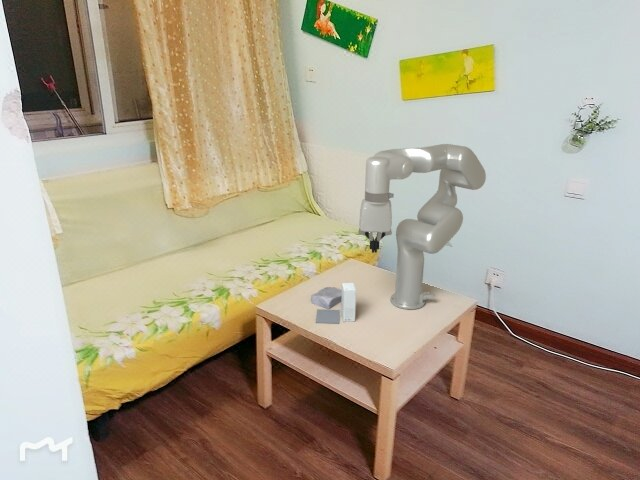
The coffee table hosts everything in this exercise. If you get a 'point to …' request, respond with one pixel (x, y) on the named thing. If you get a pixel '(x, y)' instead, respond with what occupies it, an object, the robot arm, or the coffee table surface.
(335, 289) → the stone block
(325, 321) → the pad
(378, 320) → the coffee table surface
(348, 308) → the skincare box
